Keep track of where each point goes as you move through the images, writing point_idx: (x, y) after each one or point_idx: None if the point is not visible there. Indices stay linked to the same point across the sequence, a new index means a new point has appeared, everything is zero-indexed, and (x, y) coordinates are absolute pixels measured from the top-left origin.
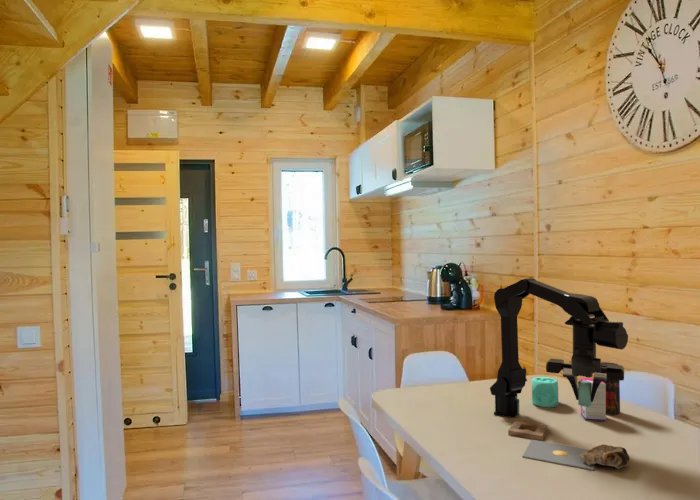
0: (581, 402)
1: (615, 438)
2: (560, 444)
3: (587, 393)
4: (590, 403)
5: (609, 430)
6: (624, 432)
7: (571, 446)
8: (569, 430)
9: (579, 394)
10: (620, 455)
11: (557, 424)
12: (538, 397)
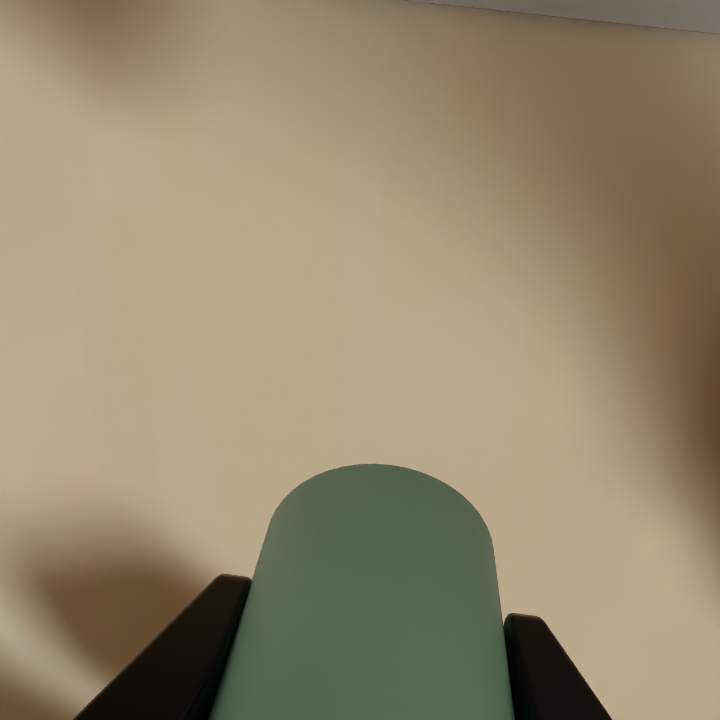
0: (444, 529)
1: (154, 422)
2: (688, 27)
3: (276, 718)
4: (268, 540)
5: (210, 567)
6: (106, 557)
7: (564, 10)
8: (524, 487)
9: (497, 707)
10: None
11: (612, 585)
12: None
